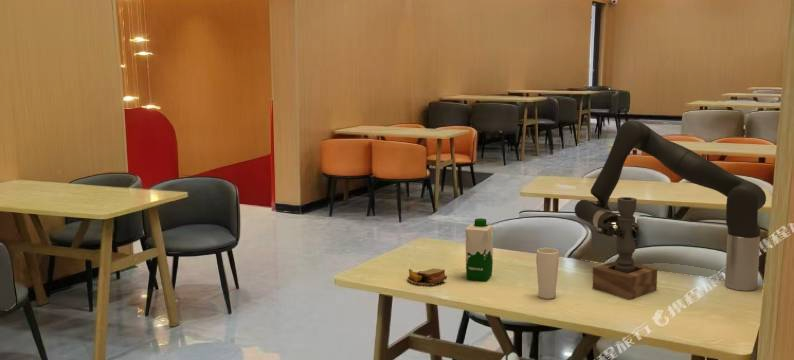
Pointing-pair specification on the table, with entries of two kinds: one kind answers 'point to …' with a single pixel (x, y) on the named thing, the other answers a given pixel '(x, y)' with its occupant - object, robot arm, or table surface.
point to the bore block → (625, 280)
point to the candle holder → (626, 235)
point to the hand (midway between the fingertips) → (629, 235)
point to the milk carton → (479, 250)
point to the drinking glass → (547, 272)
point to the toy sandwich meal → (427, 276)
